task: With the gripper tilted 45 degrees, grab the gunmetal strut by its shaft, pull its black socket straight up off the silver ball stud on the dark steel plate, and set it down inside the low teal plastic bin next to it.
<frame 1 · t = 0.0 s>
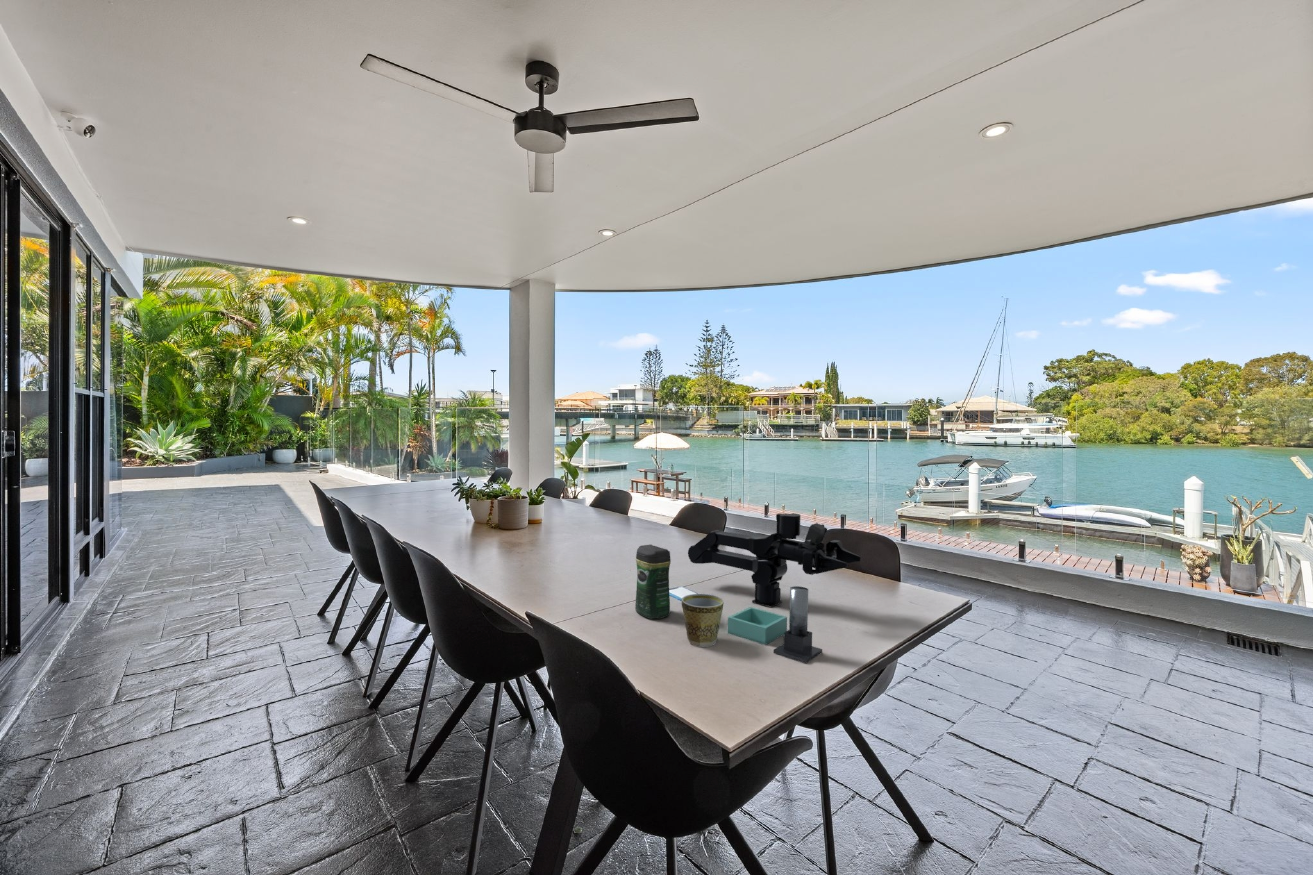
hand: (854, 562, 141), 17 cm above the table, tool horizontal, fingers open, 9 cm apart
bin: (757, 632, 135), on the table
coffee jar: (652, 614, 148), on the table
stud base: (797, 652, 123), on the table
ceramic cup: (700, 639, 131), on the table
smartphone: (687, 599, 162), on the table
strut: (797, 649, 123), point 1 cm above the table, touching stud base
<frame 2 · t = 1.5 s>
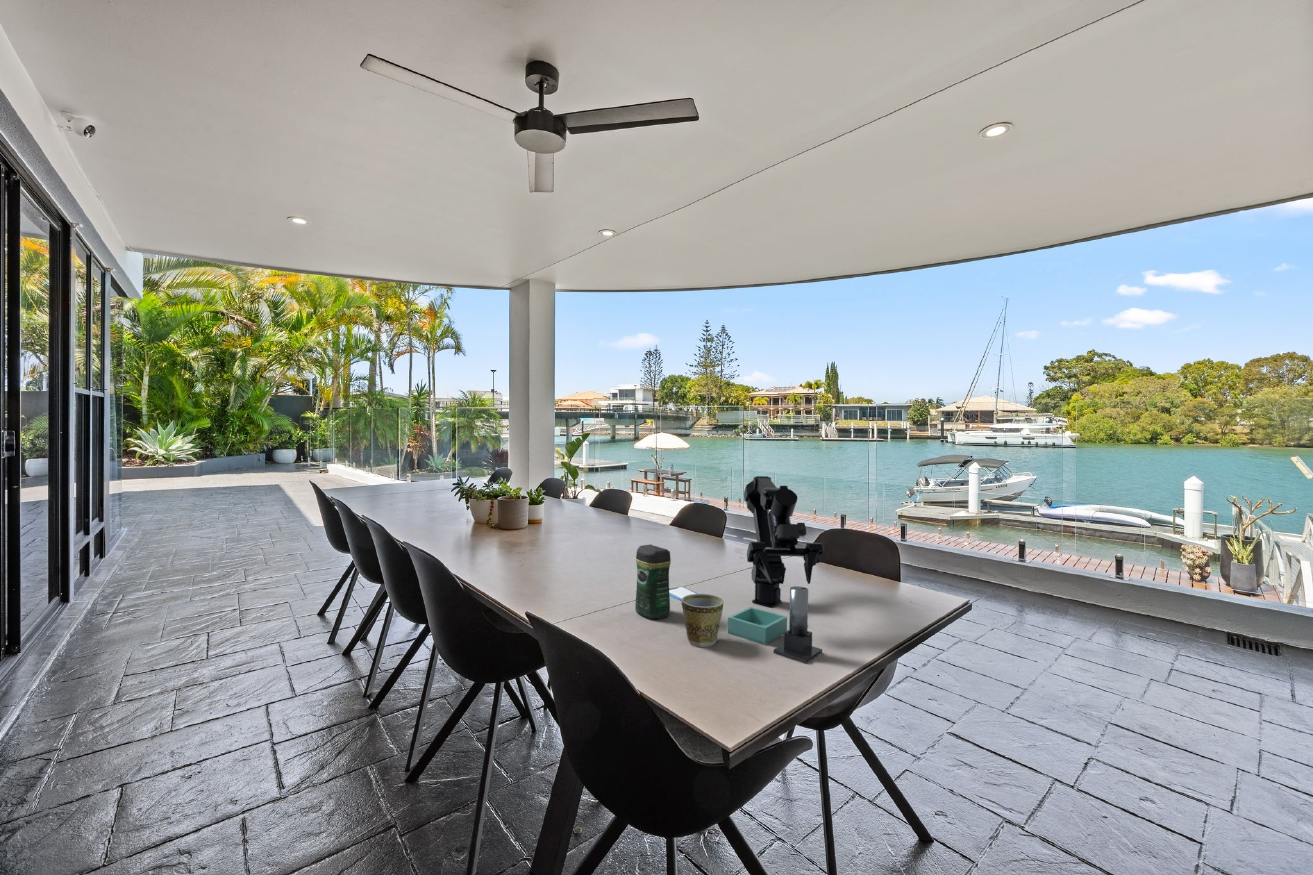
hand: (790, 582, 132), 14 cm above the table, tool tilted 45°, fingers open, 9 cm apart
nothing on the table moved.
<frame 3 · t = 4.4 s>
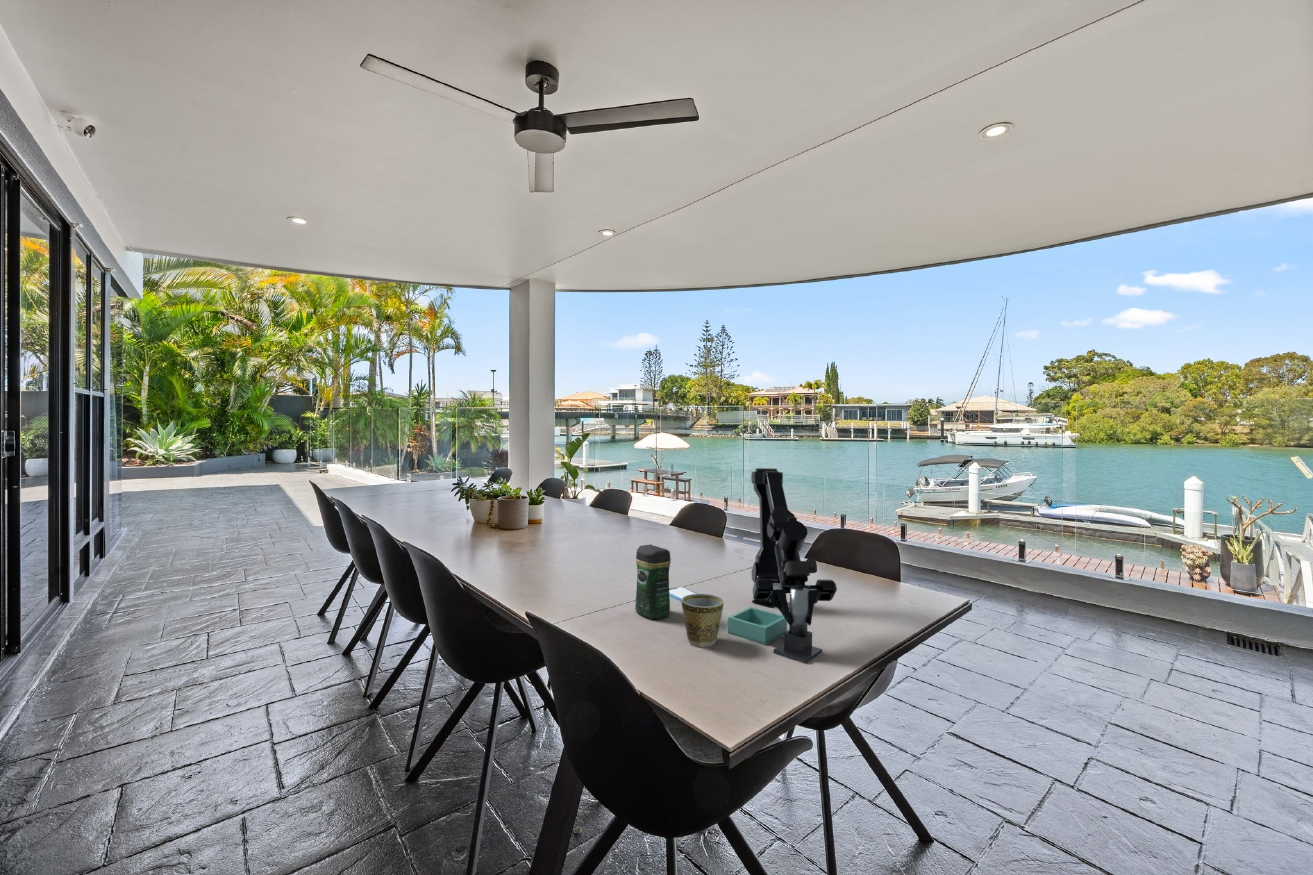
hand: (800, 624, 122), 7 cm above the table, tool tilted 45°, fingers closed on strut, 4 cm apart
strut: (797, 649, 123), point 1 cm above the table, touching gripper, stud base
everything else where it was.
when the fingers open (8 cm above the table, at t = 8.8 s): strut drops 1 cm, resting on bin.
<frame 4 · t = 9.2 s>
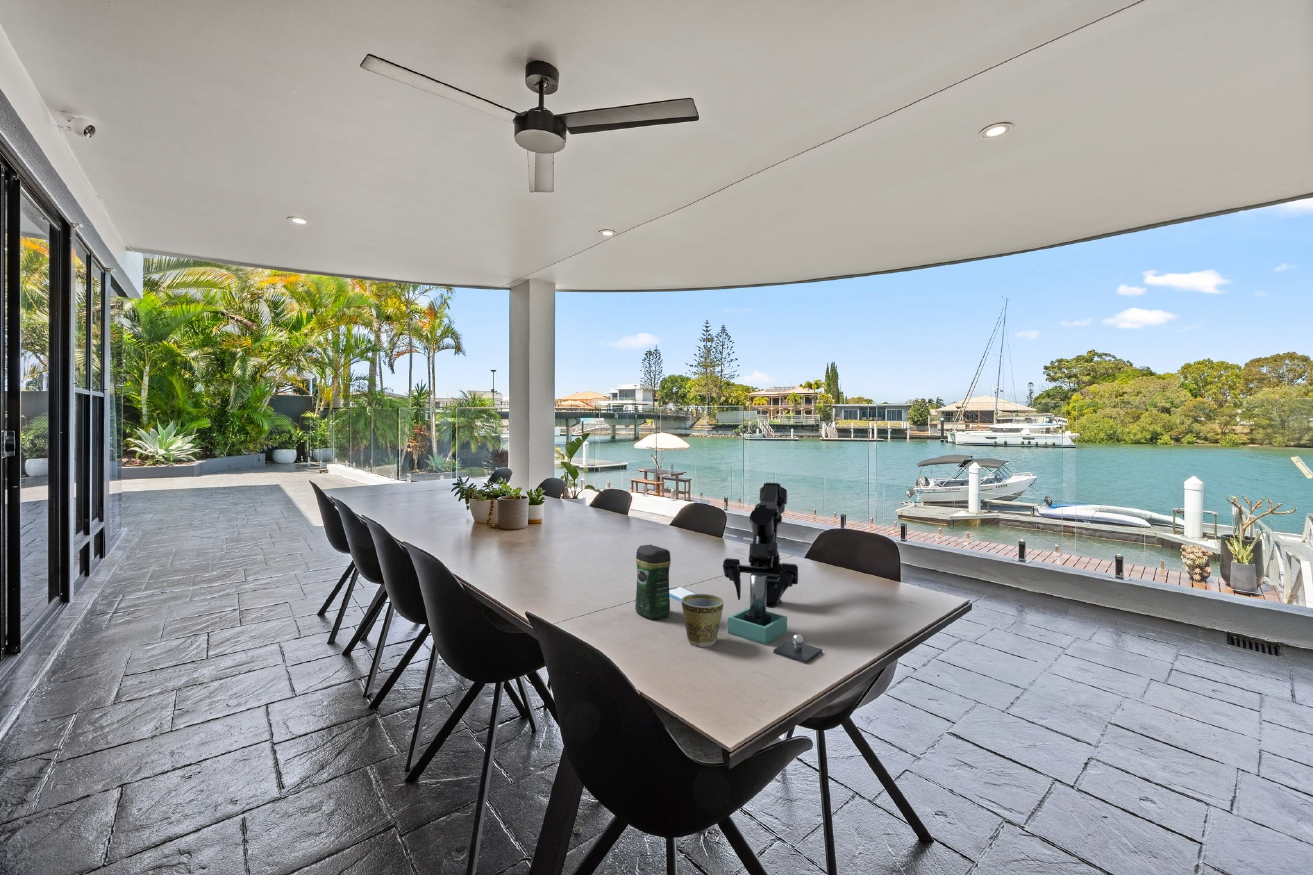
hand: (757, 601, 133), 8 cm above the table, tool tilted 45°, fingers open, 9 cm apart
strut: (757, 630, 135), point 1 cm above the table, touching bin
everything else where it was.
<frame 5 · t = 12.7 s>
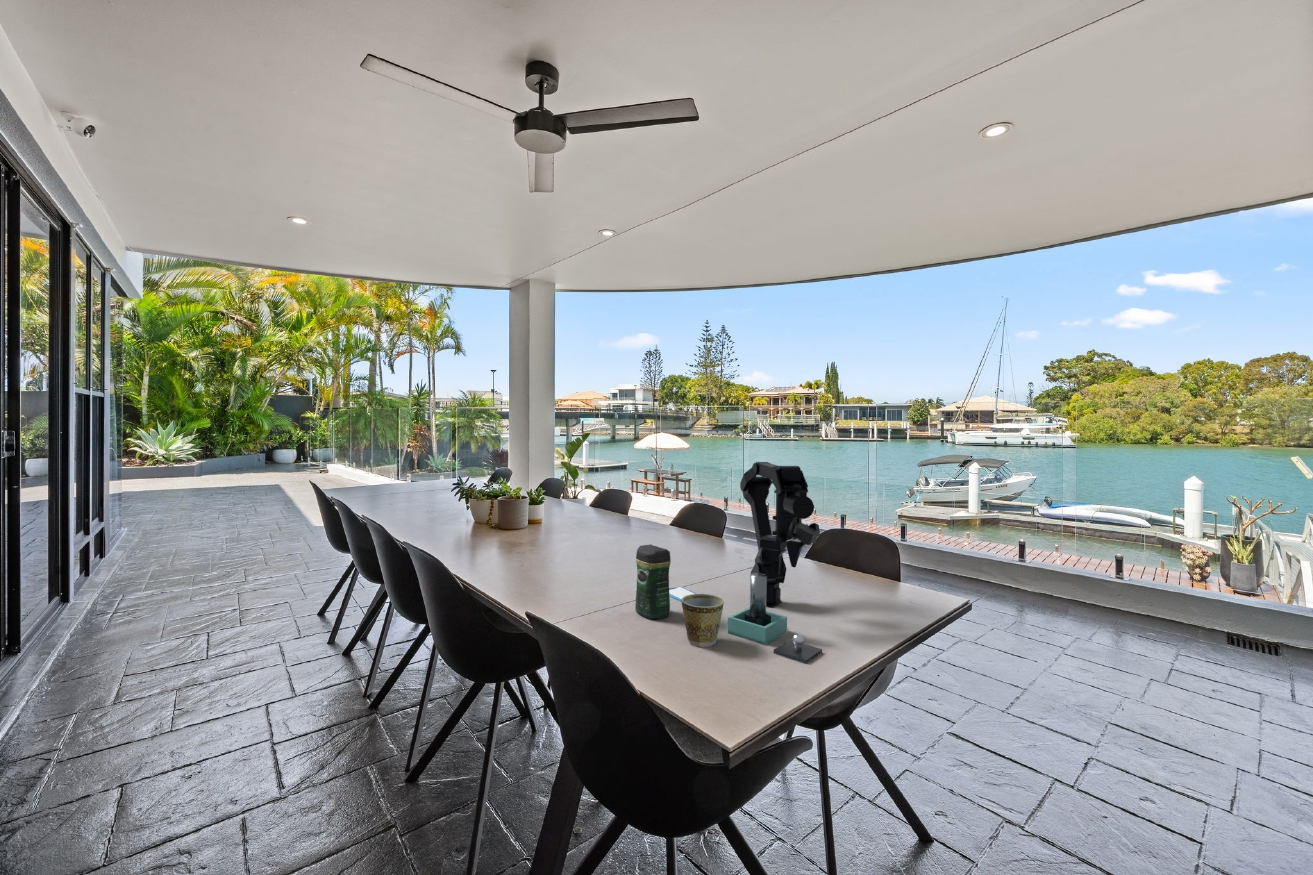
hand: (785, 570, 145), 13 cm above the table, tool pointing down, fingers open, 9 cm apart
nothing on the table moved.
at the end: strut inside the target area on the bin (0.1 cm from its centre), point 0.6 cm above the bin's base; the gripper is holding nothing; strut moved 13.6 cm from its start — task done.
